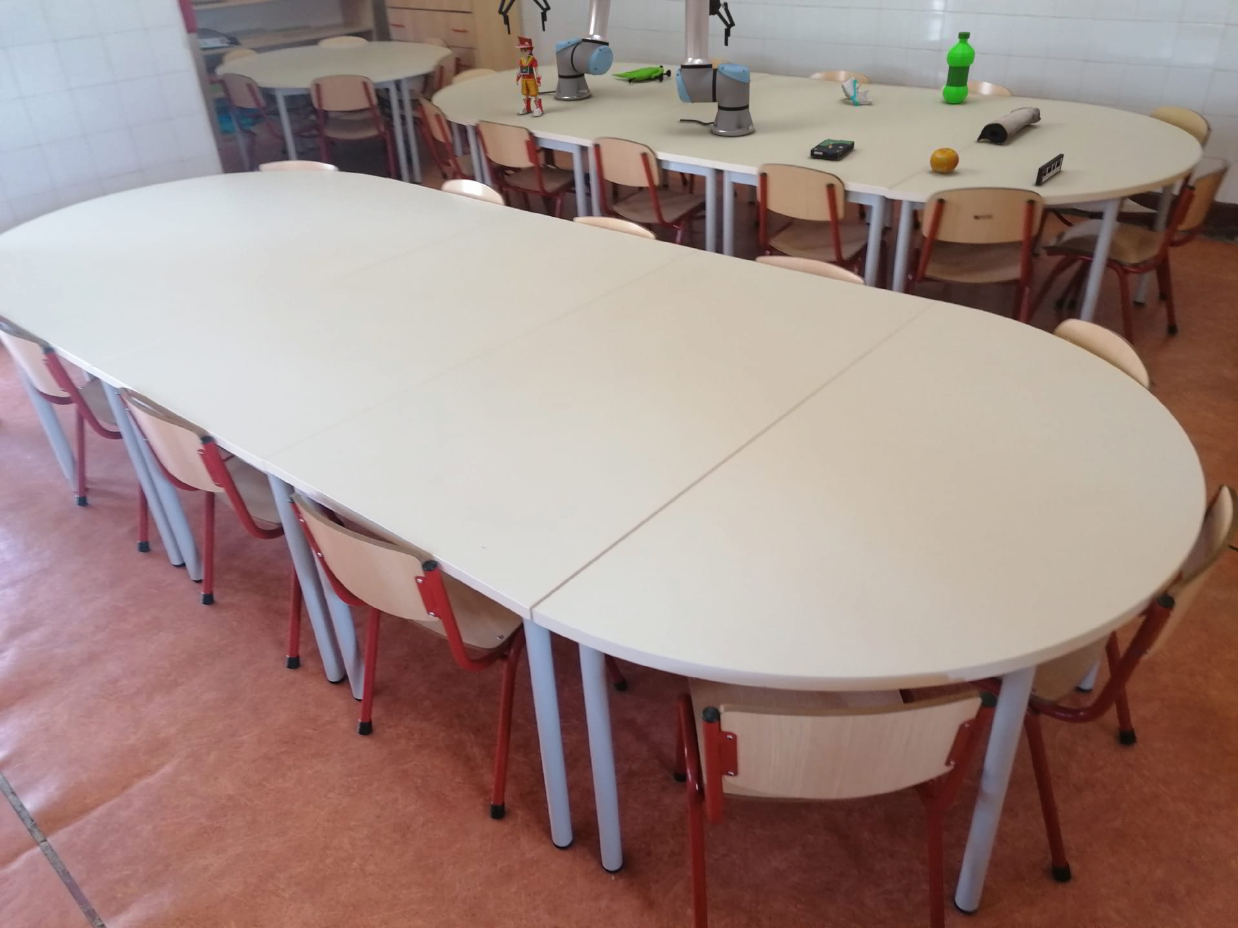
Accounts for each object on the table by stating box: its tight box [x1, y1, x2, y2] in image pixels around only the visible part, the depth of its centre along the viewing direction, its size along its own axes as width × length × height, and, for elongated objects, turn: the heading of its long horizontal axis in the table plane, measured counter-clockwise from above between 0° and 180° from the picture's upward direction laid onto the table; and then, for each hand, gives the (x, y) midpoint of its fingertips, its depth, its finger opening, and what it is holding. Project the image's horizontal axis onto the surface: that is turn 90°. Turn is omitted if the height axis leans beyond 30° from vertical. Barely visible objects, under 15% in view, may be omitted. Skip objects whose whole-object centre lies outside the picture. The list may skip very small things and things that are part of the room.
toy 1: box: [514, 35, 544, 117], centre depth 366 cm, size 12×9×30 cm
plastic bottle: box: [942, 31, 976, 104], centre depth 348 cm, size 10×10×25 cm
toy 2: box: [611, 65, 672, 84], centre depth 420 cm, size 28×5×30 cm
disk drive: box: [809, 138, 855, 161], centre depth 306 cm, size 10×3×15 cm
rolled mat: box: [976, 106, 1042, 145], centre depth 314 cm, size 30×9×10 cm
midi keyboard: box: [1035, 153, 1065, 186], centre depth 273 cm, size 18×1×5 cm, turn 138°
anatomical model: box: [841, 76, 874, 106], centre depth 361 cm, size 15×10×10 cm
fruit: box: [929, 147, 960, 174], centre depth 283 cm, size 8×8×8 cm
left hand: (526, 32), depth 349 cm, fingers open, 13 cm apart
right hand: (710, 47), depth 372 cm, fingers open, 13 cm apart
